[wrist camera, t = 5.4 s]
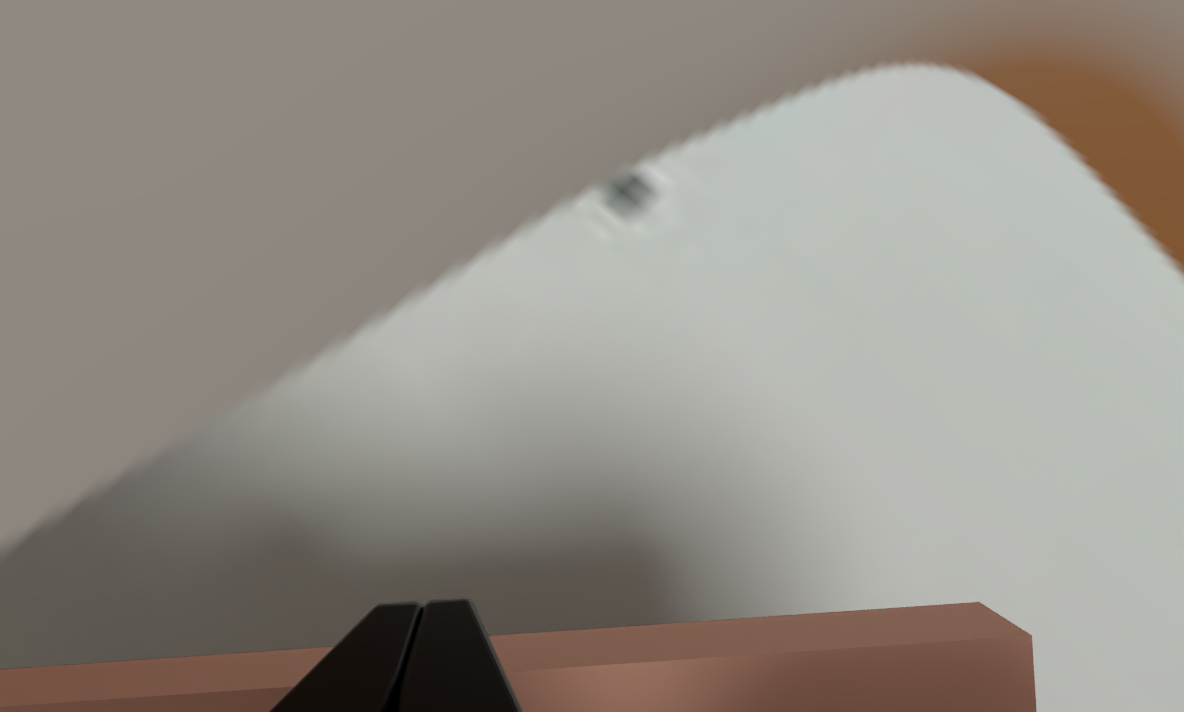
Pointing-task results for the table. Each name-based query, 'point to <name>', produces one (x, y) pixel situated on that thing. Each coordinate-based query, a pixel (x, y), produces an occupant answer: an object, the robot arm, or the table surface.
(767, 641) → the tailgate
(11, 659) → the table surface
